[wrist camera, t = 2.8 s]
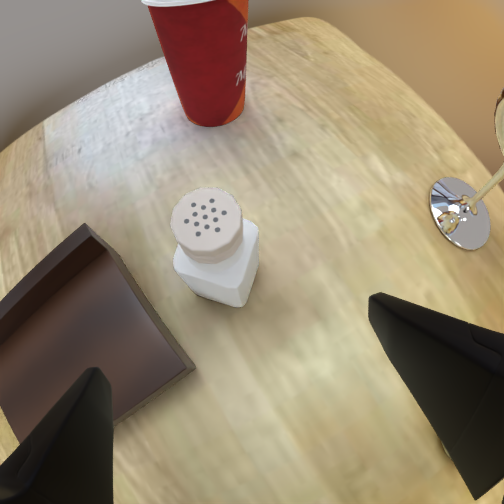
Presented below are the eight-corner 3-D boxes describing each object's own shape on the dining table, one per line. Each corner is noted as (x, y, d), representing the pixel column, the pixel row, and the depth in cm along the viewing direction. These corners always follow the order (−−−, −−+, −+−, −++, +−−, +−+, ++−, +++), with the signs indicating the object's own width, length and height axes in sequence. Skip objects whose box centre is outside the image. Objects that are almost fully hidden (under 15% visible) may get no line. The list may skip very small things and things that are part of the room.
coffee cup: (272, 111, 28) (277, -31, 14) (198, 149, 26) (162, -3, 12) (227, 72, 30) (215, -47, 16) (160, 103, 29) (123, -19, 15)
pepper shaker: (244, 311, 21) (233, 272, 12) (191, 294, 22) (147, 245, 13) (261, 259, 23) (262, 190, 14) (209, 244, 23) (182, 171, 14)
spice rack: (196, 367, 20) (176, 368, 15) (56, 464, 17) (16, 477, 12) (116, 251, 23) (84, 222, 18) (0, 356, 20) (-41, 348, 15)
